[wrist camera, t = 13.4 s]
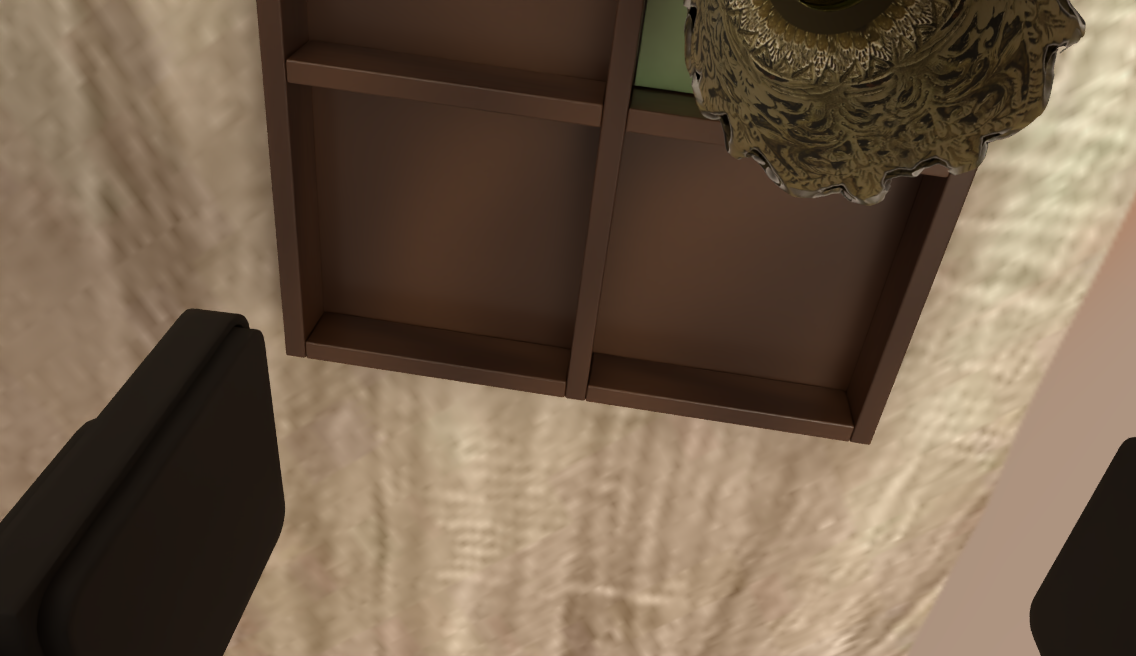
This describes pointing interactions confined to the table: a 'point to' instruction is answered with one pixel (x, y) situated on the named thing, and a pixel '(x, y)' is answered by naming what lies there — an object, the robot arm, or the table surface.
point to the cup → (871, 83)
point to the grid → (573, 218)
